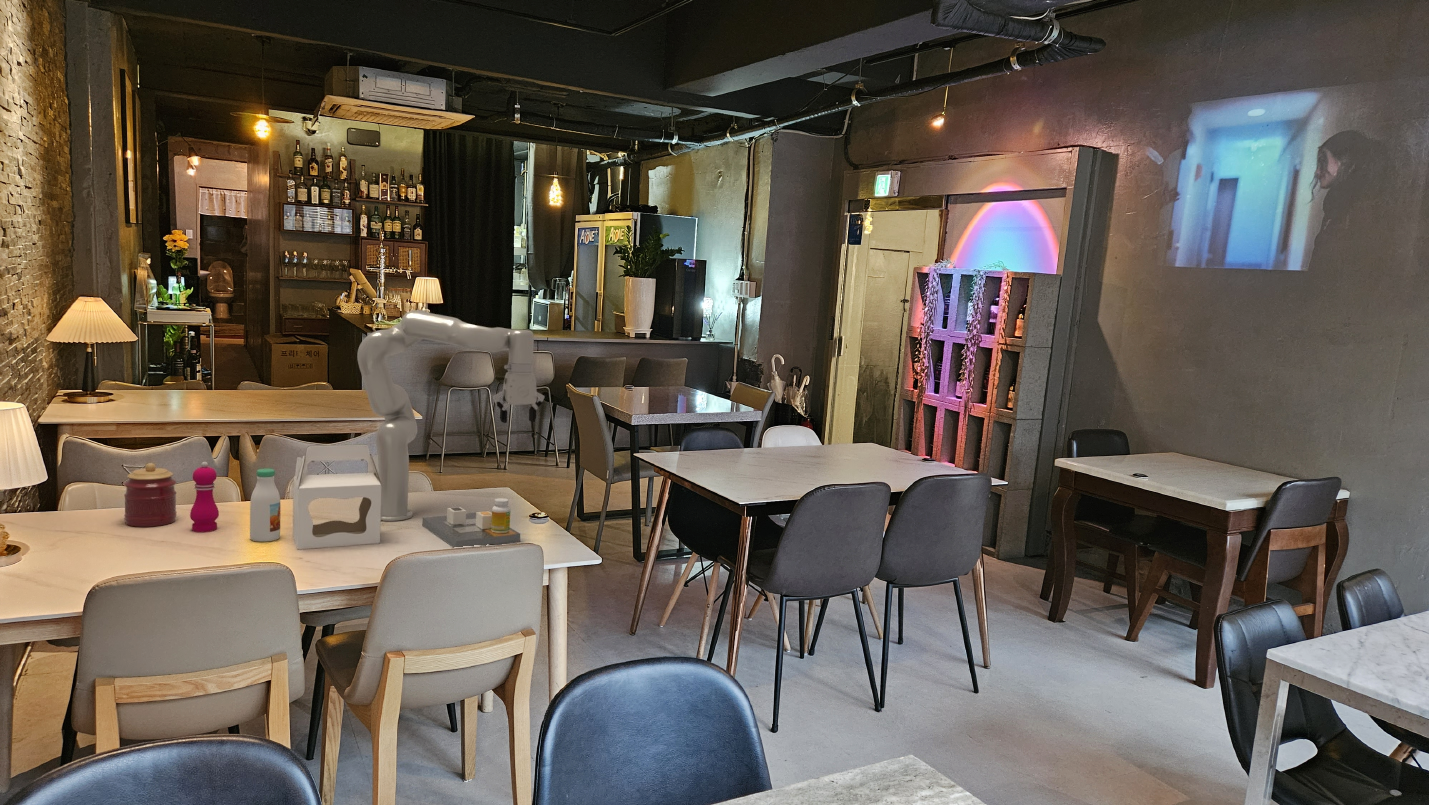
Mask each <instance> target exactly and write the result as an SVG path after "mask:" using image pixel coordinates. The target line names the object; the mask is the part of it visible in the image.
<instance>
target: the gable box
mask: <svg viewBox="0 0 1429 805" xmlns="http://www.w3.org/2000/svg"><path fill="white" fill-rule="evenodd" d="M337 461H341V462H342V461H365V462H366V463H367V464H366V467H367V469H366V470H367V472H354V473H353V472H351V473H349V472H348V473H328V474H326V473H324V474H322V473H321V474H308V465H309V464H310V463H315V462H337ZM295 462H296V463H295V471H294V472H295V473H294V476H293V482H292V483H293V490H292V492H293V494H292V495H293V497H292V498H293V499H292V538H293V542H294V544H295V547H296V549H297V550H308V549H309V550H310V549H321V548H324V549H325V548H336V547H337V548H338V547H351V546H359V545H360V546H361V545H362V546H363V545H374V544H375V545H376V544H381V522H382V520H381V488H382V484H381V481H380V479H379V476H378V473H379V468H378V455H377V454H373V455H372V453H370V447H369V445H368V444H364V443H362V444H361V443H360V444H324V445H323V444H319V445H316V444H315V445H313V444H312V445H308V446H307V447H306V452H305V455H303V456H302V457H301V456H297V457H296V461H295ZM355 498H362V499H361V502H360V504H359V507H358V513H359V518H358V520H357V521H355V522H354V521H353V522H349V521H343V520H329V521H325V522H321V523H317V524H314V521H313V519H312V518H313V517H312V516H311V513H310V507H309V506H310V503H312V502H313V501H316V500H319V499H338V500H350V499H355Z"/></svg>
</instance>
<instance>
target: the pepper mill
mask: <svg viewBox="0 0 1429 805" xmlns="http://www.w3.org/2000/svg"><path fill="white" fill-rule="evenodd" d="M200 466H201V467H198V468H196V469H195V470H193V473H192V480H193V481H194V482H195V484H194V489H195V491H196V492H195V493H196V496H195V499H194V500H195V501H194V503H193V506H192V507H191V509H190V514H189V518H190V520H191V521H193V523H192V524H191V531H192V532H195V533H208V532H209V533H210V532H213V531H215V530H217V529H218V523H217V522H216V520H217V519H218V518H219V515H220V512H219V509H218V506H217V504H216V502H215V499H214V489H215V488H216V487H215V483H214V482H215V481H216V479H217V472H216V470H215V468H213V467H210V466H209V463H208V462H207V461H203V462H201V464H200Z"/></svg>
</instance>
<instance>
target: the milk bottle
mask: <svg viewBox="0 0 1429 805" xmlns="http://www.w3.org/2000/svg"><path fill="white" fill-rule="evenodd" d="M275 472H276V470H275V469H273V468H260V469H257V470H256V478H257V481H256V484H255V487H254V489H253V491H252V493H251V495H250V505H249V506H250V507H249V508H250V509H249V539H250V540H251V541H252V542H259V543H262V542H263V543H264V542H273V541H276V540H279V538H280V537H281V496H280V491H279V489H278V488H277V486H276V484H275V478H276V477H275V475H276V473H275Z"/></svg>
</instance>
